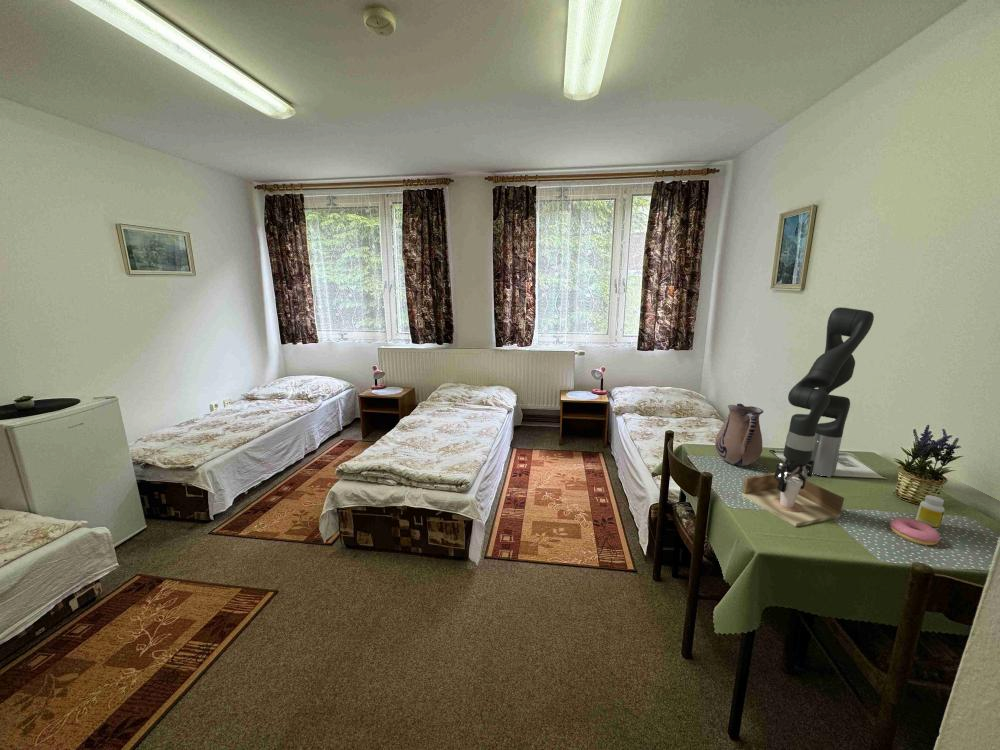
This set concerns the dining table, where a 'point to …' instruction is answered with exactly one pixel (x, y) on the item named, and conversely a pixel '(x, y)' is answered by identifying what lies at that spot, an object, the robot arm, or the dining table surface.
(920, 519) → the supplement bottle
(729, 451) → the ceramic pitcher
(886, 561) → the dining table surface
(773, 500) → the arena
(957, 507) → the dining table surface
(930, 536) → the doughnut
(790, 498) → the smoothie
